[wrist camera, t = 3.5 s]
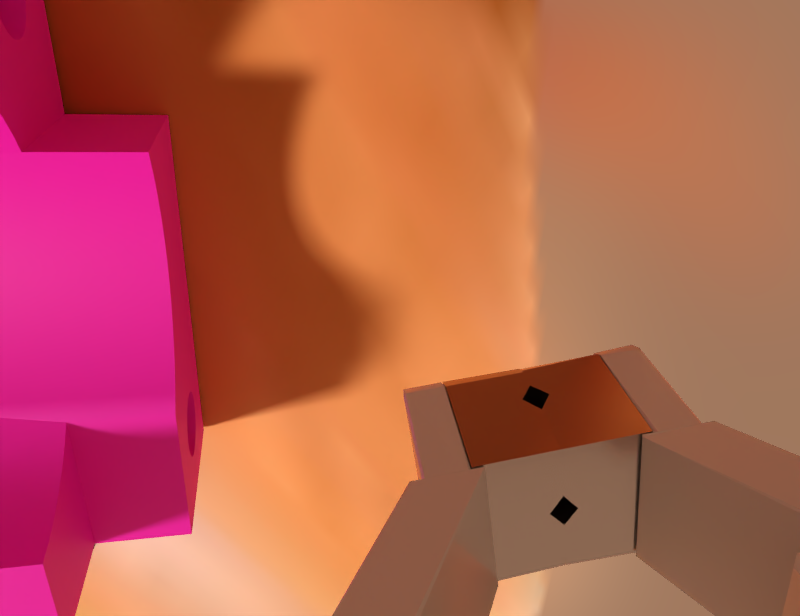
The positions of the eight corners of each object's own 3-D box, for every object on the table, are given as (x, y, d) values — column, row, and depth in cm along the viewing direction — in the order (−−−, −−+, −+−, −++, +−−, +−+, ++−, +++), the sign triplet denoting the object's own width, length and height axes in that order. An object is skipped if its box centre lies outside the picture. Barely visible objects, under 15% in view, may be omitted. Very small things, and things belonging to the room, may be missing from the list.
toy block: (203, 430, 22) (180, 631, 16) (-2, 445, 21) (-118, 669, 15) (144, -95, 15) (57, -122, 9) (-170, -116, 14) (-544, -165, 7)
